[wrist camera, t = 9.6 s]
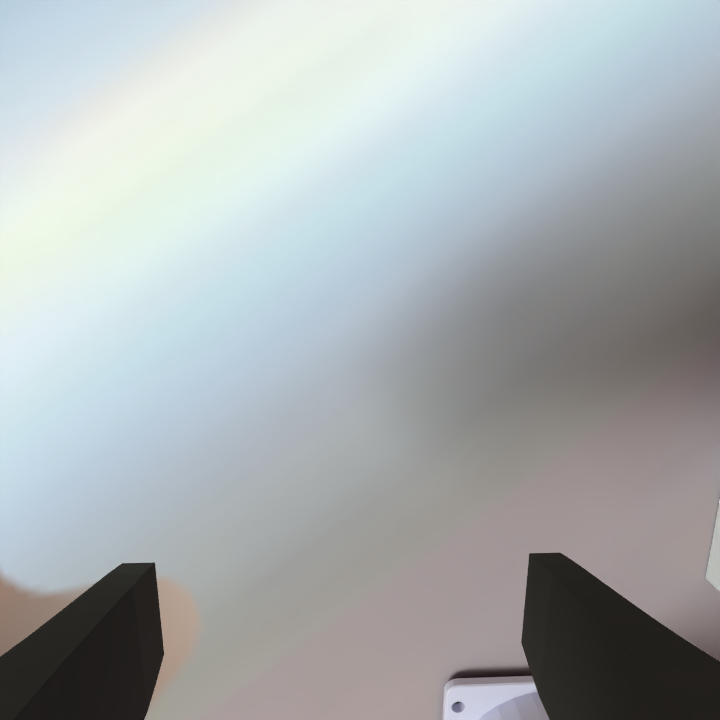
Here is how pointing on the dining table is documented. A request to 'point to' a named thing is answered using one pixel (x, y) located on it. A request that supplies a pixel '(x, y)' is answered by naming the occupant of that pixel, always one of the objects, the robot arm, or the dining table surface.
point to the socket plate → (715, 556)
